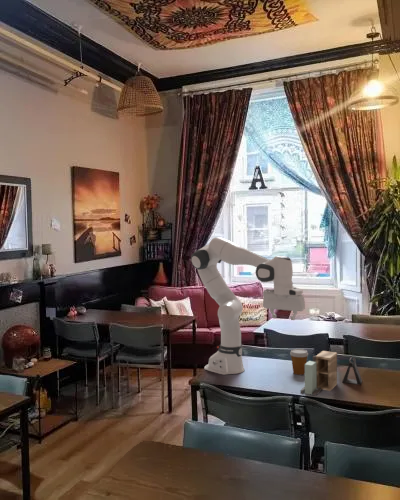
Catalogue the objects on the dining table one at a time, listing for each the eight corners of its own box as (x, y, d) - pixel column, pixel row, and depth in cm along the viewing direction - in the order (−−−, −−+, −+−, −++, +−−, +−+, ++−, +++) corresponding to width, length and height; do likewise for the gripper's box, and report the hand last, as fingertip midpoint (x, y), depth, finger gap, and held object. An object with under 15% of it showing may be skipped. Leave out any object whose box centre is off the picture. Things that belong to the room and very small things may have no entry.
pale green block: (304, 393, 214) (304, 364, 214) (309, 389, 220) (309, 360, 219) (311, 394, 213) (311, 365, 212) (316, 390, 218) (316, 361, 218)
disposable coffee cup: (308, 376, 239) (308, 353, 238) (290, 375, 241) (290, 353, 240) (308, 370, 248) (307, 349, 248) (290, 369, 250) (290, 348, 250)
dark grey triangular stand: (342, 382, 228) (342, 359, 228) (343, 379, 234) (343, 356, 233) (361, 385, 225) (361, 361, 224) (362, 381, 230) (362, 357, 229)
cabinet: (300, 393, 215) (300, 359, 214) (315, 380, 232) (315, 349, 231) (323, 397, 209) (323, 363, 208) (337, 384, 226) (336, 352, 225)
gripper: (260, 289, 218) (260, 318, 219) (301, 292, 207) (301, 322, 208) (266, 288, 223) (266, 315, 224) (306, 290, 212) (306, 319, 213)
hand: (283, 319), depth 216 cm, fingers open, 8 cm apart
